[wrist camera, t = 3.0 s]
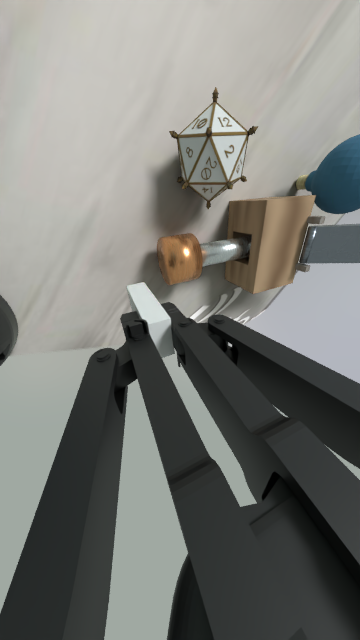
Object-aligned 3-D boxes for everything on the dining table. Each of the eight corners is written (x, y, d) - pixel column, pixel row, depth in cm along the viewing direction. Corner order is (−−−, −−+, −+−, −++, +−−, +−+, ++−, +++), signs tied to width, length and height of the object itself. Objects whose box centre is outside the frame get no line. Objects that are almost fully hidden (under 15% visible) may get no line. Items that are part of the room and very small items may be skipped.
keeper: (298, 261, 29) (300, 263, 28) (307, 226, 26) (310, 227, 25) (374, 260, 27) (380, 262, 26) (393, 222, 24) (400, 223, 23)
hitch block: (224, 279, 34) (261, 298, 27) (229, 201, 28) (279, 199, 21) (261, 270, 37) (304, 286, 30) (273, 197, 30) (332, 194, 23)
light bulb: (299, 135, 27) (412, 97, 18) (325, 168, 32) (427, 152, 22) (268, 198, 30) (352, 194, 21) (296, 220, 34) (376, 226, 25)
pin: (160, 277, 29) (175, 291, 24) (154, 234, 26) (170, 241, 21) (246, 259, 33) (272, 268, 29) (250, 221, 30) (281, 224, 25)
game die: (189, 184, 28) (218, 234, 25) (143, 145, 22) (176, 207, 19) (240, 118, 23) (284, 172, 20) (200, 41, 16) (257, 104, 13)
